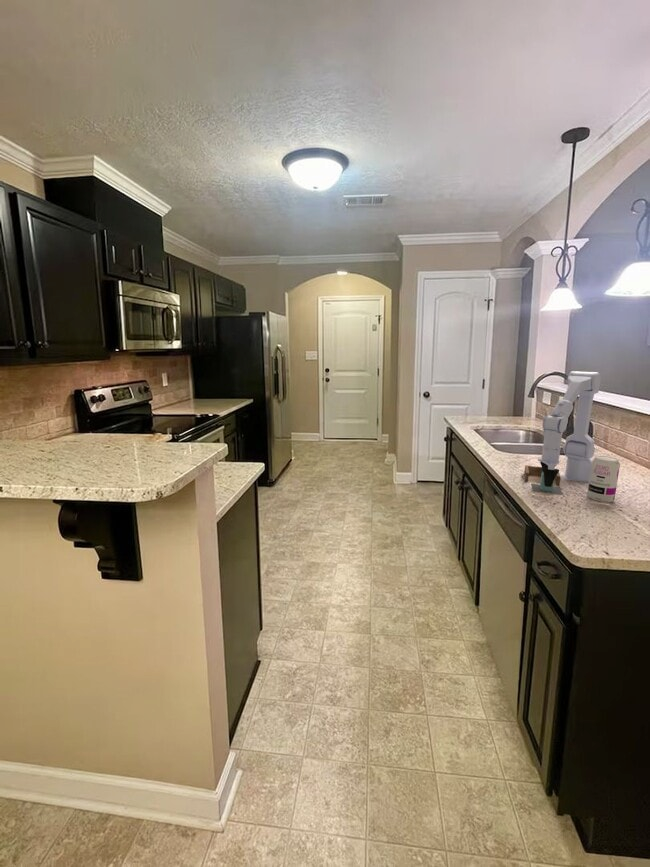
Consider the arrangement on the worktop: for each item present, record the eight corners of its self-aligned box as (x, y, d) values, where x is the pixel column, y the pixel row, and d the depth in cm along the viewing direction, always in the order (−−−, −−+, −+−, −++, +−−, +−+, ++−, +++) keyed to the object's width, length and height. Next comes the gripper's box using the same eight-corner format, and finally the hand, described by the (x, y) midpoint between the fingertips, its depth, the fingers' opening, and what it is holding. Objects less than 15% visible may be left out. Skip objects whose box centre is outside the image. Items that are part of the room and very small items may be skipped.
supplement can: (610, 497, 155) (616, 456, 152) (617, 504, 147) (623, 462, 144) (584, 494, 157) (590, 454, 154) (590, 501, 150) (596, 460, 147)
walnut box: (556, 478, 177) (557, 468, 176) (559, 486, 166) (560, 476, 165) (524, 474, 181) (525, 465, 180) (525, 482, 170) (526, 472, 170)
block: (551, 488, 162) (553, 473, 161) (552, 491, 159) (554, 475, 158) (539, 486, 164) (541, 471, 163) (540, 489, 160) (542, 474, 159)
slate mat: (559, 488, 164) (559, 487, 164) (562, 496, 155) (563, 495, 155) (531, 484, 168) (531, 483, 168) (532, 492, 159) (532, 491, 159)
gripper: (538, 443, 166) (534, 476, 169) (540, 451, 153) (536, 487, 156) (558, 445, 164) (554, 479, 166) (563, 453, 150) (558, 490, 153)
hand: (547, 483), depth 161 cm, fingers open, 7 cm apart
